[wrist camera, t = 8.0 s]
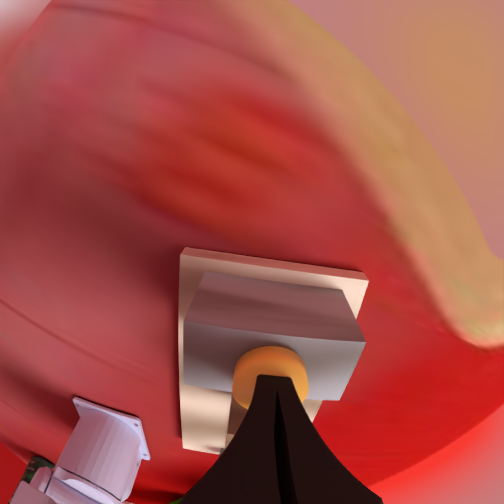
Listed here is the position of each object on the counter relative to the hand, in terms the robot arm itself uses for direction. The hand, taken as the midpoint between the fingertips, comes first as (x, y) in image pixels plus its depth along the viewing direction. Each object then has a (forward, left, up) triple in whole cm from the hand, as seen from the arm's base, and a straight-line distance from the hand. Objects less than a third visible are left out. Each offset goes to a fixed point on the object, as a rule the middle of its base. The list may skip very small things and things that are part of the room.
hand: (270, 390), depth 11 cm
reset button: (0, 0, -1) cm, 1 cm away
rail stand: (-8, 0, -8) cm, 11 cm away
